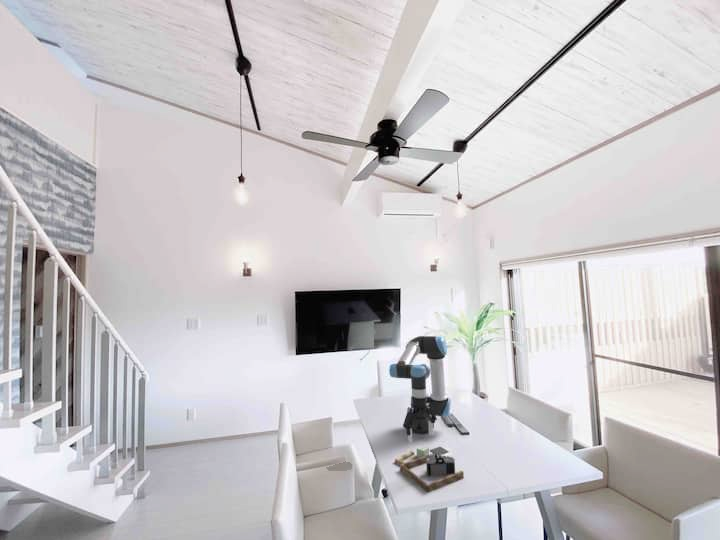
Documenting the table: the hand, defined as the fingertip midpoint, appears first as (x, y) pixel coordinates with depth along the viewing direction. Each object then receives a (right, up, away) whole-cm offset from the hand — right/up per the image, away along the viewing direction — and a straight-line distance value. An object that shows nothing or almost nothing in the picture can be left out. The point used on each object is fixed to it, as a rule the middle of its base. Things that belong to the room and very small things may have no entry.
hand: (420, 438), depth 171 cm
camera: (+11, -19, +2) cm, 22 cm away
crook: (-4, -20, +15) cm, 26 cm away
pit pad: (+15, -20, +24) cm, 35 cm away
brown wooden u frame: (+6, -19, +1) cm, 20 cm away
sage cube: (+5, -20, +18) cm, 28 cm away
